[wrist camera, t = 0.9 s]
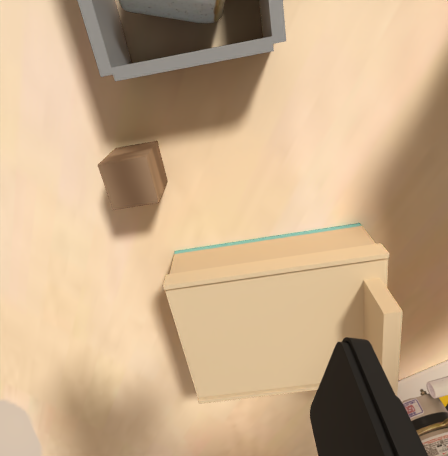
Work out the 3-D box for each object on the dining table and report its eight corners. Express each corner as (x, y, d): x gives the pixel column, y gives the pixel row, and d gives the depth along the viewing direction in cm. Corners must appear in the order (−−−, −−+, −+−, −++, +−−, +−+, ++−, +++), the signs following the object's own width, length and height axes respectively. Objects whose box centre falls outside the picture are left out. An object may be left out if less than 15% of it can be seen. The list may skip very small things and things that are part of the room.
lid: (381, 243, 36) (413, 283, 30) (377, 368, 44) (402, 420, 37) (165, 274, 37) (154, 318, 31) (199, 389, 45) (196, 442, 39)
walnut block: (157, 140, 37) (146, 156, 32) (167, 181, 39) (158, 202, 34) (115, 148, 38) (97, 165, 32) (128, 187, 40) (113, 210, 34)
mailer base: (359, 223, 42) (384, 254, 35) (360, 327, 49) (380, 368, 42) (174, 251, 43) (166, 285, 37) (201, 347, 50) (198, 390, 44)
